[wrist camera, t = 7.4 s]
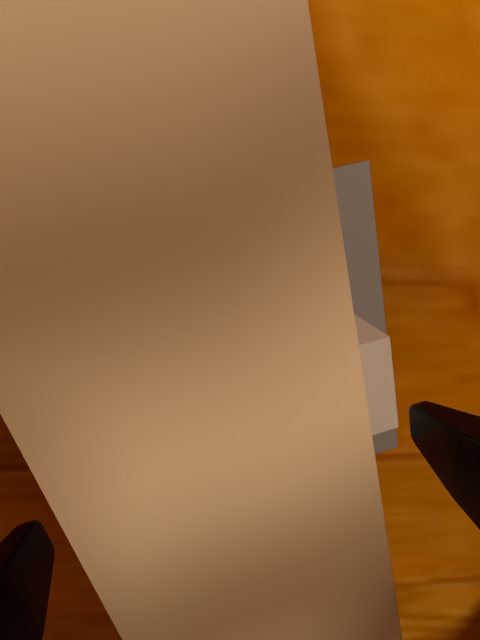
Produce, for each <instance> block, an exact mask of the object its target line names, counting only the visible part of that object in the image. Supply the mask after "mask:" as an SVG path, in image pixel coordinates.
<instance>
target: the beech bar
mask: <svg viewBox="0 0 480 640" xmlns="http://www.w3.org/2000/svg"><path fill="white" fill-rule="evenodd" d="M0 414H1V416H2V418H3V420H4V422H5V423H6V425H7V427H8V429H9V431H10V433H11V435H12V436H13V438H14V440H15V442H16V444H17V446H18V448H19V449H20V451H21V453H22V455H23V457H24V459H25V461H26V462H27V464H28V466H29V468H30V470H31V472H32V474H33V475H34V477H35V479H36V481H37V483H38V485H39V487H40V488H41V490H42V492H43V494H44V496H45V498H46V499H47V501H48V503H49V505H50V507H51V509H52V511H53V512H54V514H55V516H56V518H57V520H58V522H59V524H60V525H61V527H62V529H63V531H64V533H65V535H66V537H67V538H68V540H69V542H70V544H71V546H72V548H73V550H74V551H75V553H76V555H77V557H78V559H79V561H80V563H81V564H82V566H83V568H84V570H85V572H86V574H87V575H88V577H89V579H90V581H91V583H92V585H93V587H94V588H95V590H96V592H97V594H98V596H99V598H100V600H101V601H102V603H103V605H104V607H105V609H106V611H107V613H108V614H109V616H110V618H111V620H112V622H113V624H114V626H115V627H116V629H117V631H118V633H119V635H120V637H121V639H122V640H402V634H401V627H400V621H399V614H398V607H397V600H396V594H395V587H394V580H393V573H392V567H391V560H390V553H389V546H388V540H387V533H386V526H385V519H384V513H383V506H382V499H381V492H380V486H379V479H378V472H377V465H376V459H375V452H374V445H373V438H372V432H371V425H370V418H369V411H368V405H367V398H366V391H365V384H364V378H363V371H362V364H361V357H360V351H359V344H358V337H357V330H356V324H355V317H354V310H353V303H352V297H351V290H350V283H349V276H348V270H347V263H346V256H345V249H344V243H343V236H342V229H341V222H340V216H339V209H338V202H337V195H336V189H335V182H334V175H333V168H332V162H331V155H330V148H329V141H328V135H327V128H326V121H325V114H324V108H323V101H322V94H321V87H320V80H319V74H318V67H317V60H316V53H315V47H314V40H313V33H312V26H311V20H310V13H309V6H308V0H0Z"/></svg>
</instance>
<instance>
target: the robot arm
mask: <svg viewBox="0 0 480 640" xmlns="http://www.w3.org/2000/svg"><path fill="white" fill-rule="evenodd" d="M409 420H410V432H411V436H412V439H413V441H414V443H415V444H416V446H417V447H418V449H419V450H420V452H421V453H422V455H423V456H424V457H425V459H426V460H427V462H428V463H429V465H430V466H431V467H432V469H433V470H434V472H435V473H436V475H437V476H438V478H439V479H440V480H441V482H442V483H443V485H444V486H445V488H446V489H447V490H448V492H449V493H450V494H451V496H452V497H453V498H454V500H455V501H456V502H457V503H458V505H459V506H460V507H461V508H462V509H463V510H464V512H465V513H466V514H467V515H468V516H469V518H470V519H471V520H472V521H473V522H474V523H475V525H476V526H477V527H478V528H479V529H480V417H479V416H476V415H473V414H469V413H466V412H462V411H459V410H455V409H452V408H449V407H445V406H442V405H438V404H435V403H431V402H428V401H423V402H419V403H416V404H413V405H411V406H410V407H409ZM53 563H54V547H53V544H52V542H51V540H50V538H49V537H48V535H47V533H46V531H45V529H44V527H43V525H42V524H41V522H40V521H38V520H33V521H29V522H26V523H23V524H20V525H18V526H17V527H15V528H14V529H13V530H12V531H11V532H10V533H9V534H8V535H7V536H6V537H5V538H4V539H3V540H2V541H1V542H0V640H42V637H43V633H44V627H45V621H46V614H47V606H48V599H49V592H50V585H51V577H52V570H53Z"/></svg>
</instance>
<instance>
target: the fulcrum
mask: <svg viewBox="0 0 480 640" xmlns="http://www.w3.org/2000/svg"><path fill="white" fill-rule="evenodd" d="M333 175H334V182H335V189H336V195H337V202H338V209H339V216H340V222H341V229H342V236H343V243H344V249H345V256H346V263H347V270H348V276H349V283H350V290H351V297H352V303H353V310H354V317H355V324H356V330H357V337H358V344H359V351H360V357H361V364H362V371H363V378H364V384H365V391H366V398H367V405H368V411H369V418H370V425H371V432H372V438H373V445H374V452H375V454H377V453H380V452H383V451H386V450H389V449H392V448H396V447H398V442H397V432H396V428H397V427H399V426H398V416H397V406H396V396H395V386H394V376H393V365H392V355H391V345H390V337H389V336H388V335H387V333H386V323H385V313H384V303H383V294H382V284H381V274H380V264H379V254H378V244H377V234H376V224H375V214H374V204H373V195H372V185H371V175H370V165H369V160H367V161H362V162H357V163H353V164H348V165H344V166H340V167H336V168H333Z"/></svg>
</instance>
